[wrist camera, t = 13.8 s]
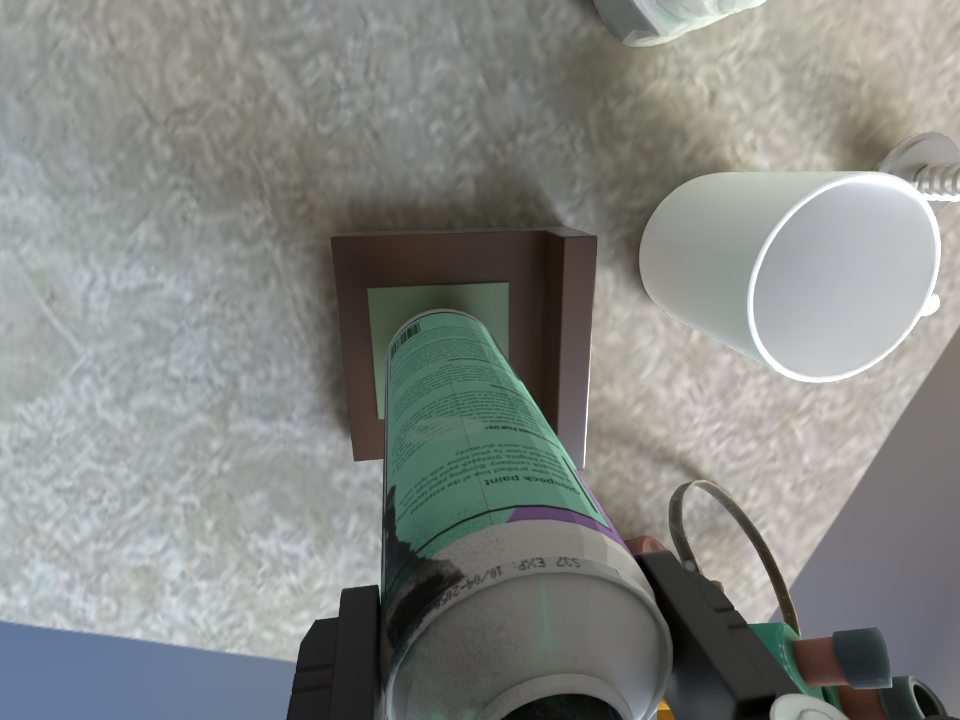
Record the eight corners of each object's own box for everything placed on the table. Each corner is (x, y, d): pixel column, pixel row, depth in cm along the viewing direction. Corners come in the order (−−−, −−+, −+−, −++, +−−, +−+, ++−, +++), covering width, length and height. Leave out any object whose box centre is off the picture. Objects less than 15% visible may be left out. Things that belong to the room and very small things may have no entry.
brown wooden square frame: (356, 444, 31) (349, 492, 26) (334, 232, 27) (322, 244, 22) (557, 427, 33) (584, 470, 28) (564, 225, 29) (598, 235, 24)
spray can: (377, 407, 26) (347, 991, 7) (395, 298, 25) (413, 695, 6) (485, 420, 27) (693, 954, 9) (509, 317, 26) (825, 699, 7)
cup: (662, 155, 28) (799, 146, 19) (846, 207, 31) (1049, 222, 21) (615, 305, 31) (716, 365, 21) (790, 342, 33) (949, 409, 24)
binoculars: (589, 474, 38) (561, 709, 27) (792, 401, 30) (873, 694, 19) (695, 576, 43) (709, 811, 32) (896, 537, 35) (1009, 836, 24)
